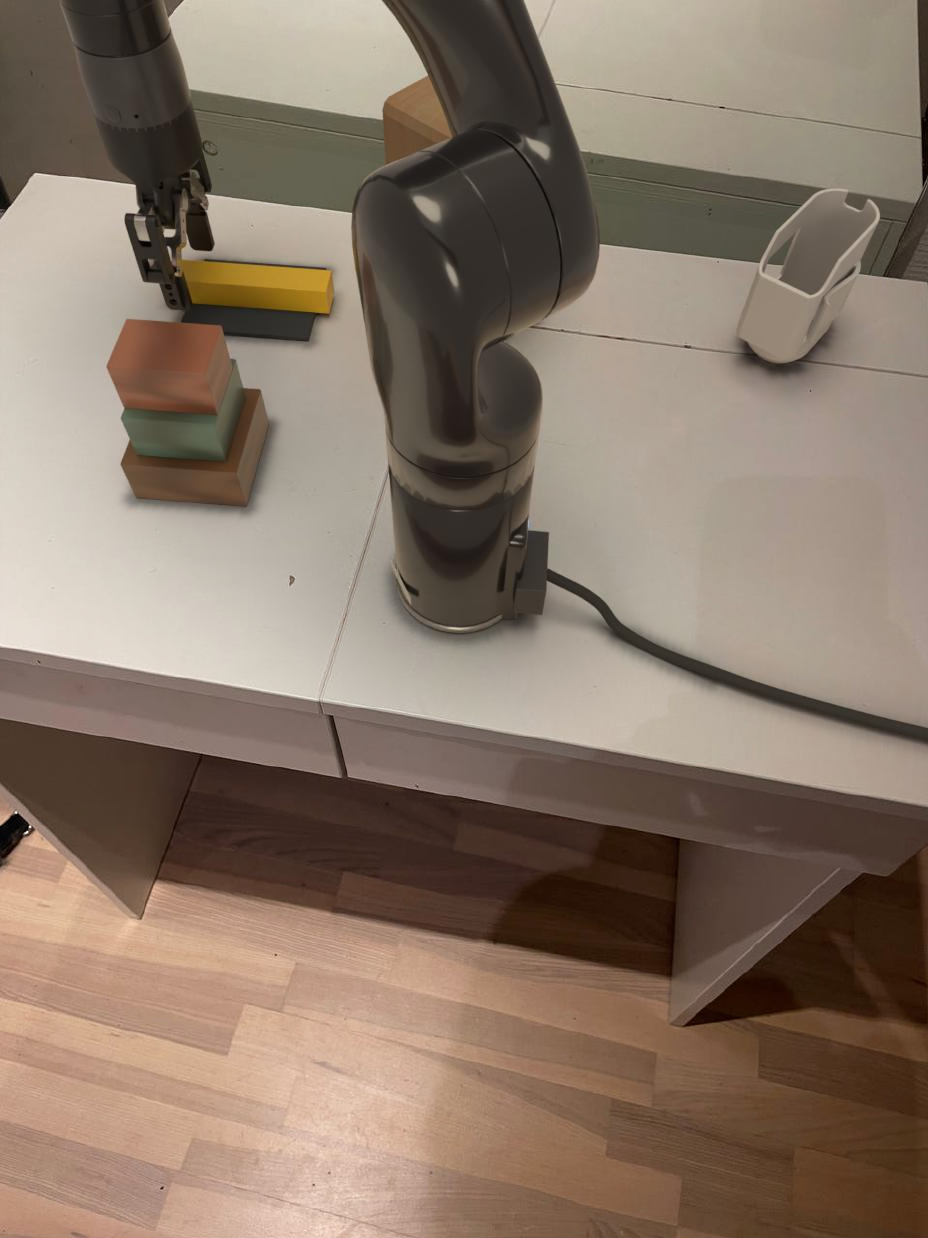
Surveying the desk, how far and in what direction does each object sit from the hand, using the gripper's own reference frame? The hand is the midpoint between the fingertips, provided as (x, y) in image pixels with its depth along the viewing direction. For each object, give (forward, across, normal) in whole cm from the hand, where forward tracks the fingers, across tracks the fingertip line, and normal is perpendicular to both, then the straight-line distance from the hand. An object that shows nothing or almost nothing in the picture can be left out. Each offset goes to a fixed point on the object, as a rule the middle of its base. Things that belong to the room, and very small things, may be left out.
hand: (192, 277), depth 81 cm
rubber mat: (+2, 0, -6) cm, 6 cm away
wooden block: (+2, 0, -26) cm, 26 cm away
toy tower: (+2, -20, -6) cm, 21 cm away
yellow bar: (+2, 0, -5) cm, 6 cm away
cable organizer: (+2, -1, -54) cm, 55 cm away
